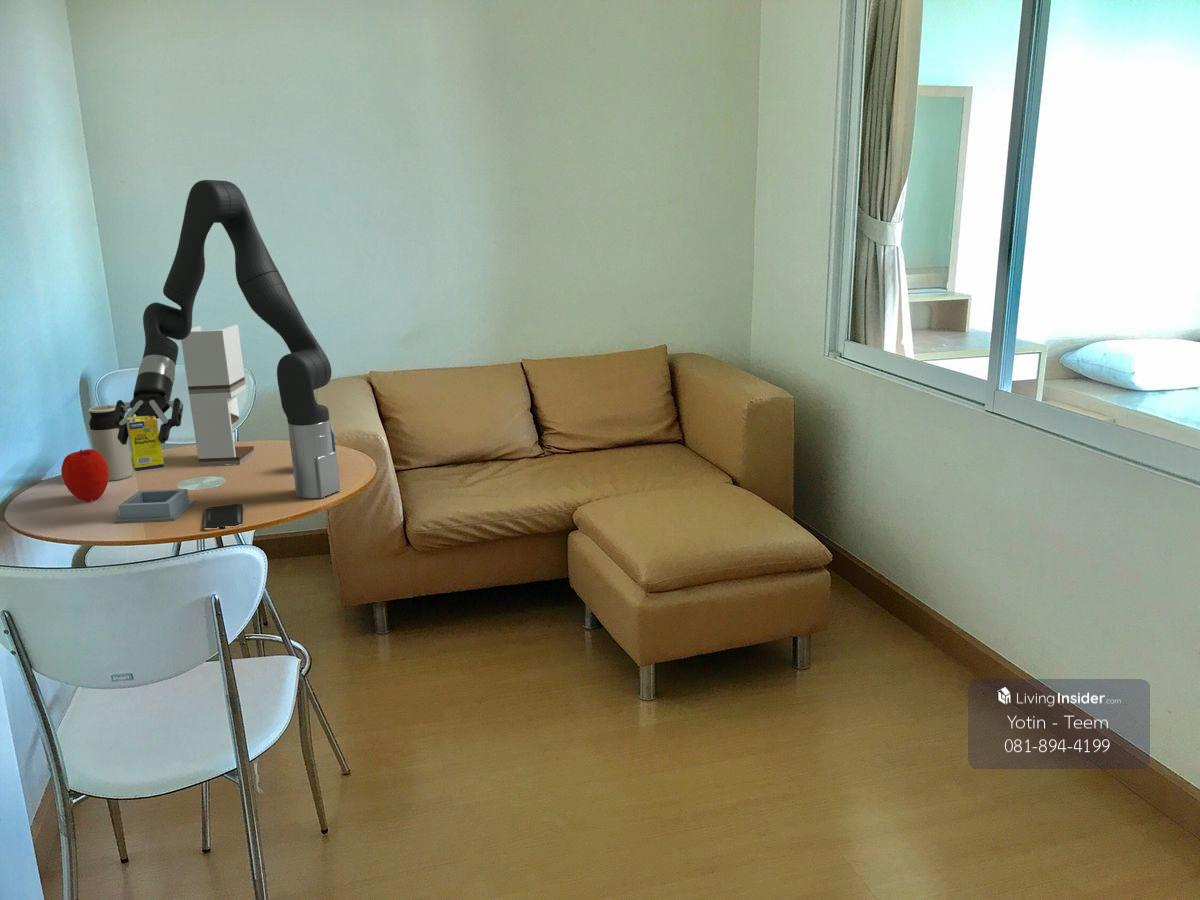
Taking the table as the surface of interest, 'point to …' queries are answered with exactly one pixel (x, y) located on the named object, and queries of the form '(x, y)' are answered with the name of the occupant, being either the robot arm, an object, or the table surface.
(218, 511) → the phone
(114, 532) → the table surface
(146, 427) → the supplement box
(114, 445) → the travel mug
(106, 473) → the apple
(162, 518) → the holder
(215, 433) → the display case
